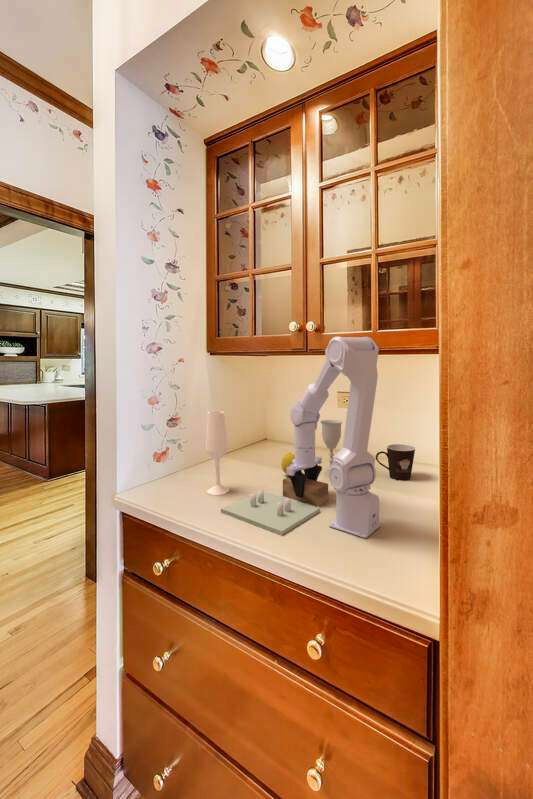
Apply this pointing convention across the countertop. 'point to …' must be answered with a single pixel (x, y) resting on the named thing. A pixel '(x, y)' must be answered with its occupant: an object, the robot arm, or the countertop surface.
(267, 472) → the countertop surface
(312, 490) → the shelf block
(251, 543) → the countertop surface
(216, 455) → the champagne flute
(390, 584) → the countertop surface
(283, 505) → the peg base
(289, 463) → the lemon
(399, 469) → the coffee mug
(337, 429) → the chalice
